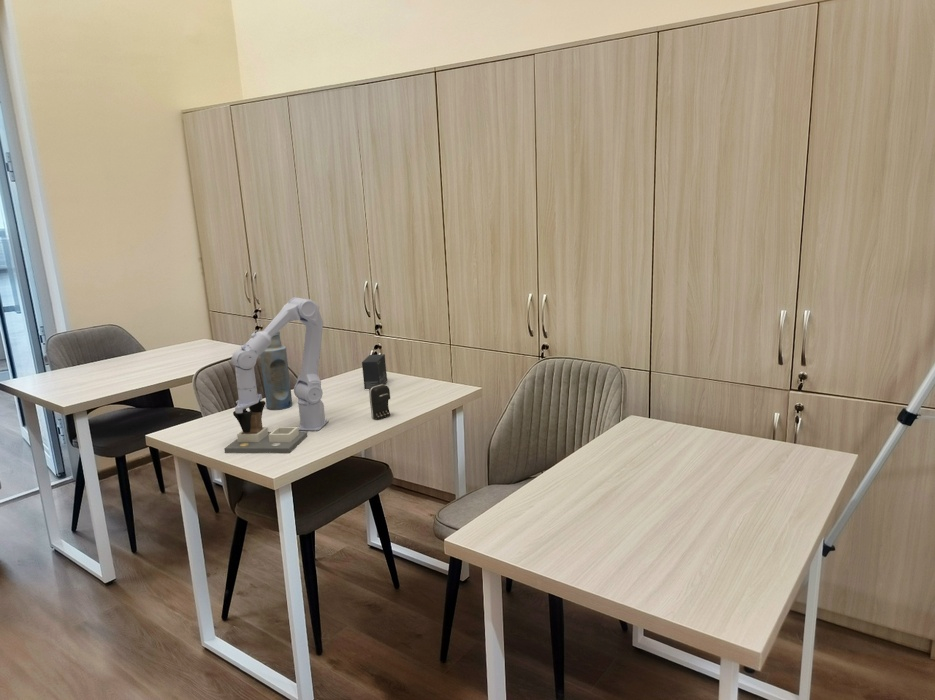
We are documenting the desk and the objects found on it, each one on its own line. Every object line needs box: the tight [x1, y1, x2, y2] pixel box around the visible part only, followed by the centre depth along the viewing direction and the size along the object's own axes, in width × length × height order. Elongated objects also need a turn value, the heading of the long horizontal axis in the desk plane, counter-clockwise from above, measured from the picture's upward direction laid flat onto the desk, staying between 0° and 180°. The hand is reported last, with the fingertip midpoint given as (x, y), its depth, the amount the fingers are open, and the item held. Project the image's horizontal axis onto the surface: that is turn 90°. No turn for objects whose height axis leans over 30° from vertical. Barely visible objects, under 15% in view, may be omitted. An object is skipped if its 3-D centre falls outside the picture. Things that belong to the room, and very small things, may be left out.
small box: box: [361, 353, 388, 390], centre depth 272 cm, size 13×7×12 cm, turn 174°
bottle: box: [259, 330, 293, 411], centre depth 248 cm, size 10×10×30 cm
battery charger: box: [368, 384, 391, 420], centre depth 230 cm, size 7×4×11 cm, turn 135°
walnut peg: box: [245, 412, 263, 434], centre depth 211 cm, size 4×4×8 cm
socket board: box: [223, 426, 309, 454], centre depth 209 cm, size 15×21×4 cm
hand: (252, 428), depth 211 cm, fingers open, 7 cm apart
